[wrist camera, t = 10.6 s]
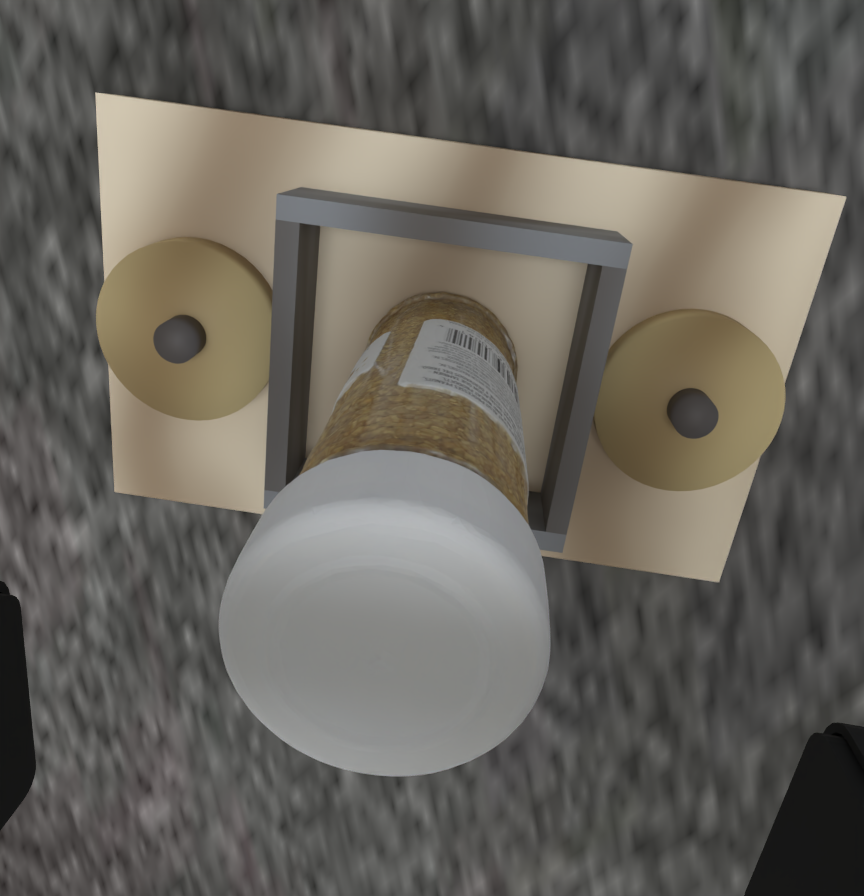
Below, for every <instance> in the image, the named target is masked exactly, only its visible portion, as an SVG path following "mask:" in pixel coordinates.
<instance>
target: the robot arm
mask: <svg viewBox="0 0 864 896" xmlns="http://www.w3.org/2000/svg"><path fill="white" fill-rule="evenodd" d="M35 770H36V760H35V750H34V740H33V730H32V719H31V709H30V699H29V688H28V678H27V668H26V658H25V647H24V637H23V627H22V616H21V607H20V603H19V600H18V599H17V597H15V596H13V595H10V593H9V589H8V587H7V586H6V584H5V583H4V582H2V581H0V830H1V829H2V827H3V826H4V825H5V824H6V822H7V821H8V820H9V818H10V817H11V816H12V814H13V813H14V812H15V810H16V809H17V808H18V806H19V805H20V804H21V802H22V801H23V800H24V798H25V796H26V795H27V793H28V791H29V789H30V787H31V785H32V782H33V779H34V775H35ZM744 896H864V727H861V726H855V725H849V724H843V723H832V724H831V725H829V726H828V727H827V728H826V730H825V731H824V733H814V734H813V735H812V736H811V737H810V738H809V740H808V742H807V744H806V747H805V749H804V752H803V754H802V756H801V759H800V761H799V764H798V766H797V768H796V771H795V773H794V776H793V778H792V781H791V783H790V785H789V788H788V790H787V793H786V795H785V798H784V800H783V802H782V805H781V807H780V810H779V812H778V814H777V817H776V819H775V822H774V824H773V827H772V829H771V831H770V834H769V836H768V839H767V841H766V843H765V846H764V848H763V851H762V853H761V856H760V858H759V860H758V863H757V865H756V868H755V870H754V872H753V875H752V877H751V880H750V882H749V885H748V887H747V889H746V892H745V895H744Z"/></svg>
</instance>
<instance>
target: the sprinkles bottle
mask: <svg viewBox="0 0 864 896" xmlns="http://www.w3.org/2000/svg"><path fill="white" fill-rule="evenodd" d="M517 371H518V364H517V357H516V352H515V347H514V344H513V342H512V340H511V338H510V337H509V335H508V332H507V330H506V328H505V327H504V326H503V325H502V324H501V323H500V321H499V319H498V318H497V317H496V315H495V314H493V313H492V312H491V311H490V310H489V309H487V308H485V307H484V306H482V305H481V304H479V303H478V302H476V301H474V300H472V299H470V298H468V297H463V296H460V295H455V294H449V293H446V292H441V293H428V294H420V295H415V296H413V297H410V298H408V299H406V300H405V301H403V302H401V303H400V304H398V305H396V306H395V307H394V308H392V309H391V310H390V311H389V312H388V313H387V314H386V315H385V316H384V317H383V318H382V319H381V320H380V322H379V323H378V324H377V325H376V326H375V328H374V329H373V331H372V333H371V335H370V337H369V340H368V343H367V347H366V350H365V351H364V353H363V354H362V356H361V357H360V359H359V360H358V362H357V363H356V365H355V367H354V368H353V370H352V372H351V374H350V376H349V378H348V380H347V382H346V383H345V385H344V387H343V389H342V390H341V392H340V394H339V396H338V398H337V400H336V402H335V405H334V408H333V411H332V414H331V417H330V418H329V420H328V422H327V424H326V426H325V428H324V430H323V432H322V434H321V436H320V437H319V439H318V441H317V443H316V444H315V446H314V448H313V449H312V451H311V452H310V454H309V456H308V458H307V460H306V462H305V464H304V467H303V469H302V471H301V473H300V474H299V476H298V477H297V478H295V479H294V480H293V481H292V482H290V483H289V484H288V485H287V486H285V487H284V488H283V489H282V490H281V491H280V492H279V493H278V494H277V495H276V497H275V498H274V499H273V500H272V502H271V503H270V504H269V506H268V507H267V508H266V509H265V511H264V513H263V514H262V516H261V518H260V520H259V521H258V523H257V525H256V526H255V528H254V530H253V532H252V533H251V535H250V537H249V539H248V541H247V542H246V544H245V546H244V548H243V550H242V552H241V553H240V555H239V557H238V559H237V561H236V563H235V565H234V567H233V569H232V571H231V574H230V576H229V578H228V581H227V584H226V587H225V590H224V593H223V597H222V601H221V606H220V612H219V638H220V646H221V651H222V656H223V660H224V663H225V667H226V670H227V672H228V675H229V677H230V679H231V681H232V683H233V685H234V687H235V689H236V691H237V693H238V694H239V695H240V697H241V698H242V700H243V701H244V702H245V704H246V705H247V707H248V708H249V709H250V711H251V712H252V713H253V714H254V715H255V716H256V717H257V718H258V719H259V720H260V721H261V722H262V723H263V724H264V725H265V726H266V727H267V728H268V729H270V730H271V731H272V732H273V733H274V734H275V735H276V736H277V737H279V738H280V739H281V740H283V741H284V742H286V743H287V744H289V745H290V746H291V747H293V748H295V749H297V750H298V751H300V752H302V753H304V754H306V755H308V756H310V757H312V758H314V759H316V760H318V761H321V762H323V763H326V764H329V765H332V766H335V767H338V768H341V769H345V770H349V771H354V772H358V773H364V774H371V775H380V776H414V775H424V774H430V773H435V772H439V771H443V770H447V769H450V768H453V767H455V766H458V765H461V764H464V763H467V762H469V761H471V760H473V759H475V758H477V757H479V756H481V755H483V754H485V753H486V752H488V751H490V750H491V749H493V748H494V747H496V746H497V745H498V744H500V743H501V742H502V741H504V740H505V739H506V738H507V737H508V736H509V735H510V734H511V733H512V732H513V731H514V730H515V729H516V728H517V727H518V726H519V725H520V724H521V723H522V722H523V721H524V719H525V718H526V716H527V715H528V713H529V712H530V711H531V709H532V708H533V707H534V704H535V702H536V700H537V698H538V696H539V694H540V692H541V690H542V688H543V685H544V681H545V678H546V675H547V672H548V666H549V658H550V620H549V603H548V594H547V587H546V579H545V571H544V564H543V560H542V556H541V552H540V549H539V546H538V544H537V541H536V539H535V537H534V535H533V533H532V531H531V529H530V527H529V524H528V514H527V505H528V496H529V487H528V473H527V464H526V455H525V445H524V436H523V427H522V418H521V411H520V403H519V396H518V388H517V385H516V381H517Z"/></svg>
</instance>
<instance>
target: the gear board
mask: <svg viewBox="0 0 864 896" xmlns="http://www.w3.org/2000/svg"><path fill="white" fill-rule="evenodd" d="M95 94H96V115H97V136H98V157H99V178H100V199H101V220H102V241H103V261H104V284H103V286H102V288H101V291H100V295H99V298H98V303H97V310H96V325H97V333H98V338H99V342H100V346H101V348H102V351H103V354H104V356H105V358H106V360H107V362H108V366H109V387H110V407H111V428H112V449H113V470H114V491H115V492H118V493H125V494H131V495H138V496H145V497H151V498H158V499H165V500H171V501H178V502H185V503H191V504H198V505H205V506H212V507H218V508H225V509H232V510H238V511H245V512H252V513H258V514H263V513H264V511H265V509H266V508H267V507H268V506H269V504H270V503H271V502H272V500H273V499H274V498H275V497H276V495H277V494H278V493H279V492H280V491H281V490H282V489H283V488H284V487H285V486H287V485H288V484H289V483H290V482H292V481H293V480H294V479H295V478H297V477H298V476H299V474H300V473H301V471H302V469H303V467H304V464H305V462H306V460H307V458H308V456H309V454H310V452H311V451H312V449H313V448H314V446H315V444H316V443H317V441H318V439H319V437H320V436H321V434H322V432H323V430H324V428H325V426H326V424H327V422H328V420H329V418H330V417H331V414H332V411H333V408H334V405H335V402H336V400H337V398H338V396H339V394H340V392H341V390H342V389H343V387H344V385H345V383H346V382H347V380H348V378H349V376H350V374H351V372H352V370H353V368H354V367H355V365H356V363H357V362H358V360H359V359H360V357H361V356H362V354H363V353H364V351H365V350H366V347H367V343H368V340H369V337H370V335H371V333H372V331H373V329H374V328H375V326H376V325H377V324H378V323H379V322H380V320H381V319H382V318H383V317H384V316H385V315H386V314H387V313H388V312H389V311H390V310H391V309H392V308H394V307H395V306H396V305H398V304H400V303H401V302H403V301H405V300H406V299H408V298H410V297H413V296H415V295H420V294H428V293H441V292H446V293H449V294H455V295H460V296H463V297H468V298H470V299H472V300H474V301H476V302H478V303H479V304H481V305H482V306H484V307H485V308H487V309H489V310H490V311H491V312H492V313H493V314H495V315H496V317H497V318H498V319H499V321H500V323H501V324H502V325H503V326H504V327H505V328H506V330H507V332H508V335H509V337H510V338H511V340H512V342H513V344H514V347H515V352H516V357H517V364H518V371H517V381H516V385H517V388H518V396H519V403H520V411H521V418H522V427H523V436H524V445H525V455H526V464H527V473H528V487H529V496H528V505H527V514H528V524H529V527H530V529H531V531H532V533H533V535H534V537H535V539H536V541H537V544H538V546H539V549H540V552H541V556H546V557H553V558H559V559H566V560H573V561H579V562H586V563H593V564H599V565H606V566H613V567H620V568H626V569H633V570H640V571H646V572H653V573H660V574H666V575H673V576H680V577H686V578H693V579H700V580H706V581H713V582H719V581H720V578H721V575H722V572H723V569H724V566H725V563H726V560H727V557H728V554H729V550H730V547H731V544H732V541H733V538H734V535H735V532H736V529H737V526H738V523H739V520H740V517H741V514H742V511H743V508H744V505H745V502H746V499H747V496H748V493H749V490H750V487H751V484H752V481H753V478H754V475H755V472H756V469H757V466H758V463H759V460H760V457H761V455H762V454H763V453H764V451H765V450H766V449H767V447H768V446H769V445H770V443H771V441H772V440H773V438H774V436H775V434H776V433H777V430H778V428H779V425H780V423H781V420H782V416H783V412H784V406H785V381H786V378H787V375H788V372H789V369H790V366H791V363H792V360H793V357H794V354H795V351H796V348H797V345H798V342H799V339H800V336H801V333H802V330H803V327H804V324H805V321H806V318H807V315H808V312H809V309H810V306H811V303H812V300H813V297H814V294H815V291H816V288H817V285H818V282H819V279H820V276H821V272H822V269H823V266H824V263H825V260H826V257H827V254H828V251H829V248H830V245H831V242H832V239H833V236H834V233H835V230H836V227H837V224H838V221H839V218H840V215H841V212H842V209H843V206H844V203H845V200H846V197H845V196H840V195H834V194H829V193H824V192H817V191H809V190H802V189H795V188H788V187H781V186H773V185H766V184H759V183H752V182H744V181H737V180H730V179H723V178H716V177H708V176H701V175H694V174H687V173H679V172H672V171H665V170H658V169H651V168H643V167H636V166H629V165H622V164H614V163H607V162H600V161H593V160H586V159H578V158H571V157H564V156H557V155H549V154H542V153H535V152H528V151H521V150H513V149H506V148H499V147H492V146H485V145H477V144H470V143H463V142H456V141H448V140H441V139H434V138H427V137H420V136H412V135H405V134H398V133H391V132H383V131H376V130H369V129H362V128H355V127H347V126H340V125H333V124H326V123H318V122H311V121H304V120H297V119H290V118H282V117H275V116H268V115H261V114H253V113H246V112H239V111H232V110H225V109H217V108H210V107H203V106H196V105H188V104H181V103H174V102H167V101H160V100H152V99H145V98H138V97H131V96H123V95H114V94H104V93H95Z"/></svg>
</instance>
